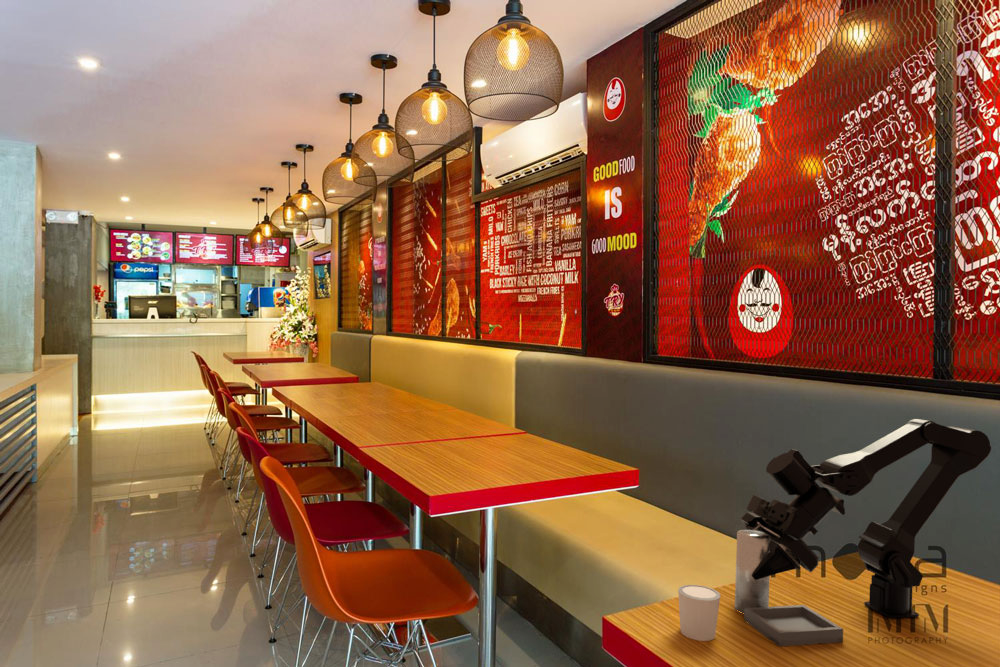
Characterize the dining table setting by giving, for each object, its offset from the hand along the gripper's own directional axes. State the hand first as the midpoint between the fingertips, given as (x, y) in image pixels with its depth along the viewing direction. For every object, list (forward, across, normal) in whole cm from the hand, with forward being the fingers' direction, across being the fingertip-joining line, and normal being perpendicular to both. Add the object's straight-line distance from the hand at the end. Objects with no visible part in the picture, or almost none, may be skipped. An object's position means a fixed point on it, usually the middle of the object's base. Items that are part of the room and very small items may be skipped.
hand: (745, 571), depth 119 cm
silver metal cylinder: (+4, 0, +6) cm, 7 cm away
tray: (+2, +8, +8) cm, 12 cm away
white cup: (+14, +9, -4) cm, 17 cm away
